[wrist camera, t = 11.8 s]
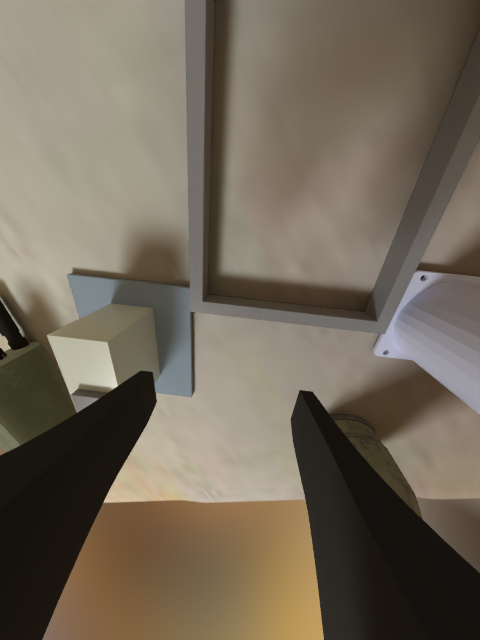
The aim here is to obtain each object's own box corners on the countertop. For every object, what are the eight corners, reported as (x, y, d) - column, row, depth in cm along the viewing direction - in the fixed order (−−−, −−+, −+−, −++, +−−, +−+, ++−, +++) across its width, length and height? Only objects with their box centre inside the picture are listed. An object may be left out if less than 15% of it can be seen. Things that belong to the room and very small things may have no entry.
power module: (152, 308, 18) (100, 347, 12) (160, 375, 21) (122, 432, 15) (110, 303, 18) (37, 339, 12) (124, 370, 21) (73, 425, 15)
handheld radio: (92, 448, 29) (-14, 293, 19) (112, 448, 29) (16, 290, 19) (52, 505, 23) (-135, 321, 13) (77, 504, 23) (-93, 317, 13)
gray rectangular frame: (540, -66, 9) (615, -144, 7) (371, 323, 17) (384, 334, 15) (196, -89, 9) (182, -169, 7) (196, 303, 18) (190, 311, 16)
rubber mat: (191, 286, 17) (189, 288, 17) (192, 393, 22) (191, 397, 22) (71, 273, 17) (66, 274, 17) (102, 382, 23) (99, 385, 22)
